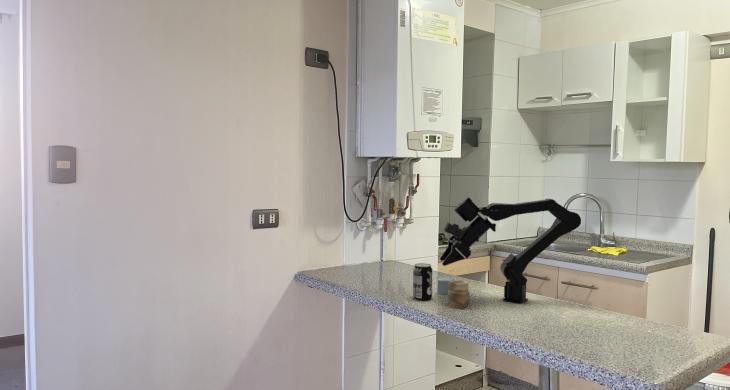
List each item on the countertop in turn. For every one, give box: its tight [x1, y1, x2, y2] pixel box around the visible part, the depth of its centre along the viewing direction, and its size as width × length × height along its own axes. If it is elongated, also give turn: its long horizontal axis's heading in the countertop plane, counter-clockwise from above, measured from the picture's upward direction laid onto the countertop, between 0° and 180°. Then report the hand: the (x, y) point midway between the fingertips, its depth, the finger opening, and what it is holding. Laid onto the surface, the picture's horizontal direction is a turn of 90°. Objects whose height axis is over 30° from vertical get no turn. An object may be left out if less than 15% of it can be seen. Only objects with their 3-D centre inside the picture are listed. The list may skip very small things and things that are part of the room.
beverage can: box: [412, 262, 433, 302], centre depth 183 cm, size 7×7×12 cm
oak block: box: [448, 279, 470, 296], centre depth 187 cm, size 5×5×5 cm
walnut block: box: [448, 289, 471, 310], centre depth 173 cm, size 5×5×5 cm
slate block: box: [437, 277, 455, 296], centre depth 192 cm, size 5×5×5 cm
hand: (441, 262), depth 182 cm, fingers open, 9 cm apart
